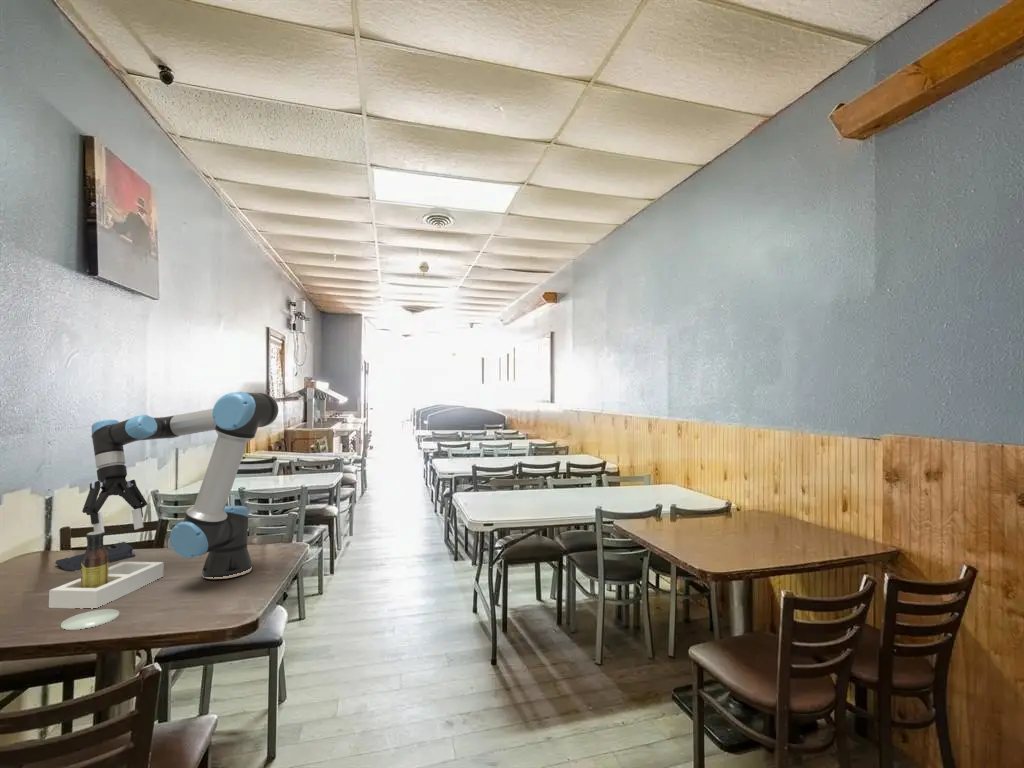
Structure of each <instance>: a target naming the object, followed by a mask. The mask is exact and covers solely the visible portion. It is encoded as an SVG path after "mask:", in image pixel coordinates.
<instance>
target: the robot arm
mask: <svg viewBox="0 0 1024 768" xmlns="http://www.w3.org/2000/svg"><path fill="white" fill-rule="evenodd" d="M278 415H279V405H278V402H277V401H276V400H275V398H273V396H271V395H269V394H267V393H263V392H245V391H236V392H229V393H226V394H225V395H224V394H223V396H221V397H220V398H219V399H218V400H217V401H216V402H215V403H214V405H213V408H210V409H209V408H208V409H205V410H204V409H203V410H197V411H193V412H192V411H191V412H187V413H181V414H175V415H170V416H163V417H161V416H160V417H153V416H150V415H148V414H140V415H135V416H133V417H130V418H129V419H125V420H123V421H119V420H117V419H103V420H99V421H96V422H94V423H92V425H91V439H92V440H91V441H92V447H93V452H94V460H95V467H96V469H97V470H96V475H97V476H96V477H97V480H96V481H94V482H90V483H89V491H88V495H87V497H86V500H85V501H84V502H85V503H84V505H83V507H82V511H81V512H82V513H83V514H86V515H87V516H90V524H91V525H93V532H94V531H104V534H105V525H104V517H103V511H100V510H101V508H102V507H103V506H104V504H105V502H106V501H107V500H108V498H109V497H111V496H119V497H121V498H122V499H123V500H124V501H125V502H126V503H127V504H128V505H129V506H131V508H132V510H131V515H132V521H133V522H132V523H133V528H134V530H136V531H137V530H140V529H142V528H144V522H143V521H144V520H143V518H144V513H143V508H145V507H146V506H147V505H148V501H146V499H145V497H144V495H143V493H142V492H141V491H140V489H139V487H138V486H137V481H136V480H135V479H132V480H128V481H127V478H126V477H127V476H128V470H127V466H126V457H125V450H124V446H125V445H127V444H128V445H129V444H131V443H133V442H137V441H148V440H149V441H151V440H152V441H153V440H158V439H175V438H178V437H180V436H188V435H192V434H198V433H205V432H209V431H210V432H211V431H215V432H216V434H217V435H218V436H217V439H216V442H215V444H214V445H213V446H214V447H213V450H212V453H211V456H210V459H209V462H208V464H207V466H206V469H205V473H204V476H203V479H202V482H201V485H200V488H199V491H198V494H197V497H196V499H195V503H194V504H193V505H192V506H191V507H189V508H187V509H186V512H185V515H184V517H183V520H182V521H181V522H178V523H177V524H175V525H174V526H173V528H172V529H171V532H170V533H169V542H170V546H171V547H172V549H173V551H174V552H175V553H176V554H177V555H178V556H180V557H182V558H185V559H193V558H196V557H201V556H203V555H205V554H207V553H208V554H207V557H206V560H205V562H204V565H203V567H202V571H201V576H202V575H203V576H204V577H213V578H214V577H223V576H229V575H233V574H237V573H241V572H243V571H246V570H248V569H250V568H251V567H252V568H253V561H252V559H251V555H250V552H249V548H248V535H249V517H250V516H249V509H248V507H247V506H245V505H227V503H228V500H229V498H230V494H231V491H232V489H233V485H234V483H235V480H236V477H237V473H238V472H239V468H240V465H241V462H242V460H243V456H244V453H245V450H246V448H247V444H248V442H250V441H251V440H254V438H255V437H256V434H257V431H258V429H259V428H263V427H267V426H270V425H271V424H272V423H274V421H275V420H277V418H278Z"/></svg>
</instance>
